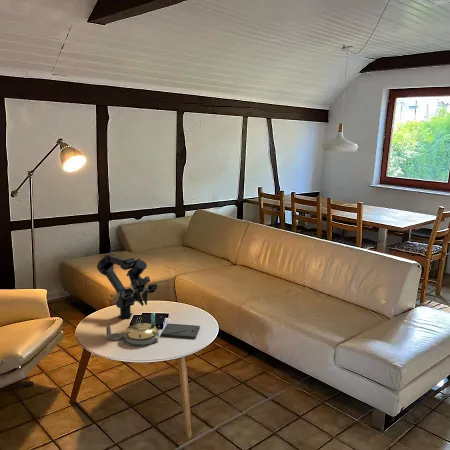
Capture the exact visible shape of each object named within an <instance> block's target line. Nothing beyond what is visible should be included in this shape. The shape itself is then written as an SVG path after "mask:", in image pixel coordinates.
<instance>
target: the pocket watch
mask: <svg viewBox="0 0 450 450" xmlns="http://www.w3.org/2000/svg"><path fill="white" fill-rule="evenodd" d="M106 321H107V324H106V325H105V328H106V336H107V338H108V339H109V340H112V341H120V340H121V339H123V338H124V335H123V334H122V333H118V332H117V333H112V330H111V326H110V321H109V320H106Z"/></svg>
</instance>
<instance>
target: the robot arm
mask: <svg viewBox="0 0 450 450" xmlns="http://www.w3.org/2000/svg"><path fill="white" fill-rule="evenodd" d="M114 265H117V266H119V267H120V269H122V270H124V271H127V270H128V271H127V273H126V277H128V278H129V281H130V287H132V288H130V287H129V288H125V286H124V285H123V282H122V281H121V280H120V278H119V277H118V275H117V274H116V272H115V270H114V269H115V268H114V267H115V266H114ZM147 266H148V265H147V262H145V261H144V260H142V259H141V258H137V259H135V258H134V257H122V256H119V255H116V254H114V253H110V254H109V253H108V254H106V255H104V257H103V258H102V259H100V260H99V261H98V263H97V265H96V269H97V270H98V272H99V273H100V274H101V275H103V276H106V278H107V280H108V281H109V283H110V284H111V286H112V287H113V288H114V290H115V292H116V293H117V301H116V302H115V306H116V307H117V308H119V313H120V314H119V316H118V319H131V318H132V316H133V313H132V311H131V310H132V309H131V306H134V305H135V301H137V302H138V303H139V305H141V307H143V306H144V305H145V306H147V305H148V295H149V294H152V293H153V294H154V293H155V292H156V291H157V289H158V288H159V287H158V284H157V283H152V284H151V283H150V282H151V279H150V278H151V277H150V275H147V276H145V277H144V278H143V277H141V275H142V273H144V271H146V269H147ZM148 283H150V284H148ZM147 285H148V286H147ZM146 286H147V287H146ZM141 293H142V294H141Z"/></svg>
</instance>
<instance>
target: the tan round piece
mask: <svg viewBox="0 0 450 450" xmlns="http://www.w3.org/2000/svg"><path fill="white" fill-rule="evenodd" d="M157 331H158V329H157V327H156V312H151V313H150V323H147V322H140V323H134V324H132V325H128V327H126V329H125V332H126V336H127V338H129V339H131V340H136V341H143V340H148V339H151V338H153V337H155V336H156V334H157Z"/></svg>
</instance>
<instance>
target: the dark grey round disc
mask: <svg viewBox="0 0 450 450" xmlns="http://www.w3.org/2000/svg"><path fill="white" fill-rule="evenodd" d="M159 340H160V336H159V331H158V330H157V334H156V336H155V337H153V338H151V339H148V340H143V341H136V340H131V339H129V338H127V336H126V331H125V332H124V335H123V341H124V343H125V344H126V345H128V346H130V347H131V346H132V347H146V346H147V347H148V346H150V345H151V346H152V345H153V344H155V343H159Z"/></svg>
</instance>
